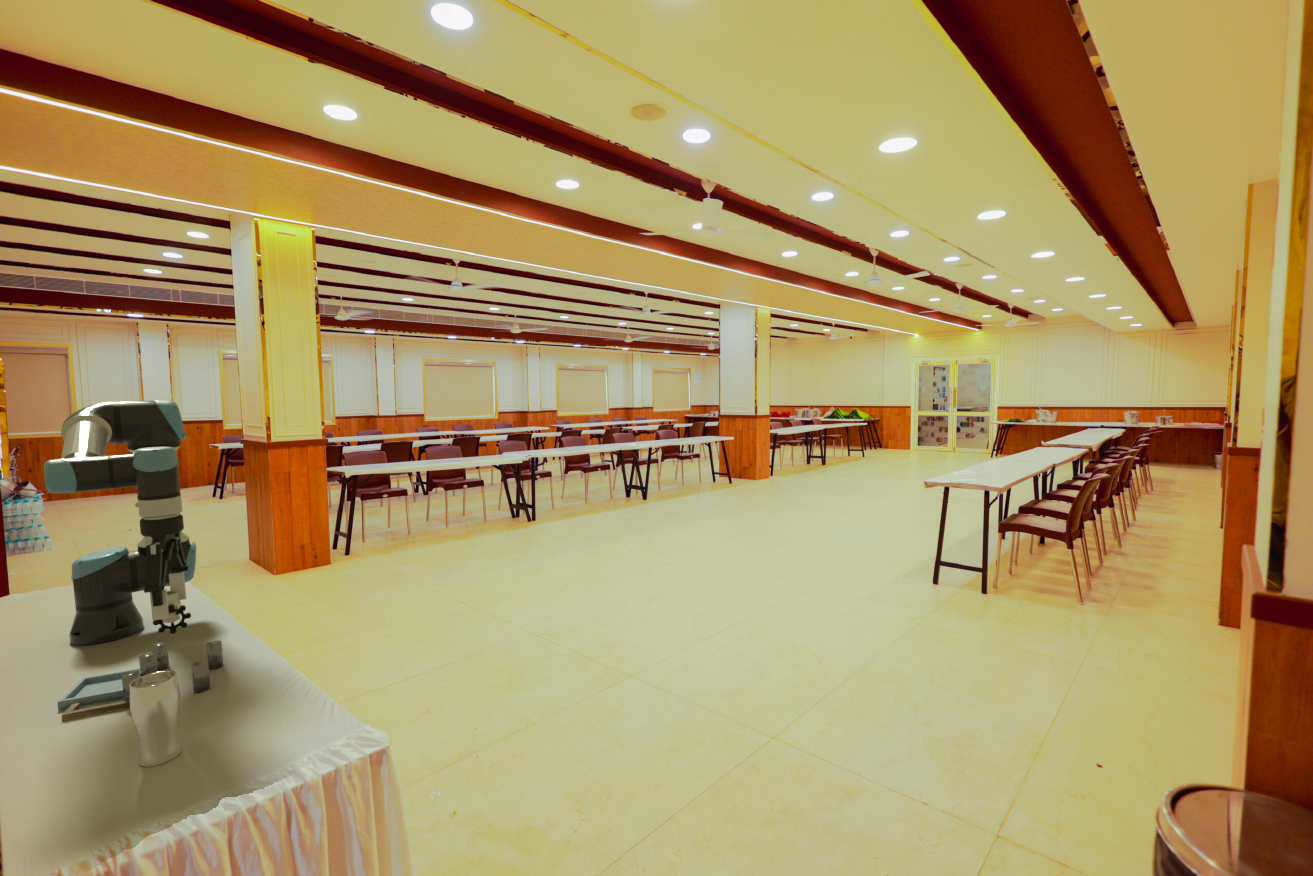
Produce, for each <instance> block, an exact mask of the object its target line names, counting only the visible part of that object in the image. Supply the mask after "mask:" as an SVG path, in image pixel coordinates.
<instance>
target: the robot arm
mask: <svg viewBox="0 0 1313 876" xmlns="http://www.w3.org/2000/svg"><path fill="white" fill-rule="evenodd" d="M181 415H182V414H181V412H180V408H179V405H178V404H177V402H175V401H173V400H163V399H161V400H157V399H153V400H152V399H150V400H129V401H124V400H123V401H104V402H103V401H102V402H98V403H93V404H89V405H87V406H85V407H82V408H80V409H78V410H77V411H75V412H73V413H72V414H70V415H69V416H68V417H67V418H66V419H65V420H64V422H63V423H62V425H61V430H60V435H61V439H62V440H63V441H64V442H63V446H62V452H61V456H60V458H58V459H57V458H55V459H49V460H46V461H45V462H44V464H43V476H44V483H45V488H46V491H47V492H49V493H50V494H67V493H68V494H74V493H81V492H83V493H84V492H91V491H101V490H111V489H119V488H120V489H122V488H131V487H136V494H137V497H136V498H137V502H136V503H135V504H134V507H136V508H138V516H139V517H140V518H141V519H140V520H139V530H140V535H141V536H142V537H143V538H141V540H139V542H138V543H137V549H136V550H131V551H129V549H128V547H126V546H115V547H110V548H109V547H108V548H106V549H101V550H97V551H94V552H90V553H88V554H84V555H82V556H80V557H78V558H76V559H75V560H73V562H72V563H71V577H70V578H71V580H72V585H73V595H74V603H75V605H74V606H75V616H74V619H73V622H72V624H71V628H70V631H69V642H70V644H72V645H74V646H75V645H76V646H89V645H96V644H102V643H103V644H104V643H107V642H112V641H116V640H119V639H122V638H125V637H128V636H130V635H133V634H135V633H137V632H139V631H140V630H142V629H143V628H144V618H143V617H142V614H141V613H140V611H139V610H138V608H137V606H136V604H135V603H134V600H133V593H137V592H142V591H143V592H144V594H146V593H149V597H150V598H149V599H150V609H151V618H152V619H151V620H152V621H153V620H161V619H168V618H169V610H168V599H167V591H168V590H167V588H165V587H169V591H173V590H176V591H178V598H179V600H180V601H184V600H187V590H186V583H189V582H190V581H191V580H192V579H193V578H194V577H195V572H196V563H197V545H196V542H195V541H190V536H188V535H187V534H185V533H183V530H184V528H185V526H184V516H183V514H181V513H182V512H183V503H182V494H181V487H180V486H181V485H180V474H179V457H178V456H177V454H178V453H177V451H178V450H179V449H180V448H181V447H182V446H181V441H182V442H183V441H184V440H185V441H186V440H187V434H186V430H185V426H184V422H183V420H182V419H183V418H182V416H181ZM119 444H120V445H121V444H126V448H127V451H129V452H130V454H127V453H126V454H118V455H117V454H116V455H107V445H119Z"/></svg>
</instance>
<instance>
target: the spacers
mask: <svg viewBox="0 0 1313 876" xmlns="http://www.w3.org/2000/svg"><path fill="white" fill-rule="evenodd" d="M205 647H206V658H207V659H206V660H199V661H196V662H194V663H192V664H191V677H192V686H193V687H192V689H193V693H195V694H196V693H197V694H198V693H204V692H206V691H208V690H210V689H211V679H210V678H211V677H210V670H211V671H212V670H217V669H220V668H222V667H223V666H224V656H223V654H224V653H223V643H222V640H220V639H218V640H212V641H209V642H207V643H205ZM168 648H169V647H168V642H167V641H161V642H157V643H154V644H152V645H151V646H150V650H151V652H147V653H143V654H141V655H140V656H138V660H139V668H140V671H141V676H144V675H147V674H150V673H154V672H159V671H166V670H167V669H169V668H170V661H169V660H170V658H169V650H168ZM140 671H131V672H128V673H125V674H123V675H122V685H123V694H124V698H123V701H127V700H130V698H129V695H130V687H129V685H130V683H131V682H132V681H134V680H135V679H137V678H139V677H140Z"/></svg>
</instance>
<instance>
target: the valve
mask: <svg viewBox="0 0 1313 876" xmlns="http://www.w3.org/2000/svg"><path fill="white" fill-rule="evenodd" d="M167 599H168V610H169V618H168V619H161V620H153V619H152V624H153V626H158V625H160V627H158V633H161V634H162V633H164V632H165V630H169V633H170V634H171V635H174V634H176V633H177V632H178V631H177V629H178V627H181V628H182V629H185V628H186V627H188V622H187V621H185V620H186V619H187V620H188V619H190V618H191V617H192V614H191V612H187V613H185V612H184V611H186V609H187V607H186V605H184V604H182V602H181V600H179V598H178V591H176V590H173V591H170V590H167ZM179 620H180V621H179ZM177 621H178V623H177V624H175V623H176V622H177ZM168 623H169V624H170V625H166V624H168Z"/></svg>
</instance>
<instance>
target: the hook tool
mask: <svg viewBox="0 0 1313 876" xmlns="http://www.w3.org/2000/svg"><path fill="white" fill-rule="evenodd" d="M125 709H130V700H127V701H124V700H123V701H118V702H113V703H107V704H106V703H105V704H102V705H101V704H100V705H95V706H90V707H85V708H81V706H80V703H76V704H72V705H71V706H70V707H69V708H66V710H65V711H63V713H62V714H61V721H66V720H67V721H68V720H72V719H78V718H83V717H88V716H93V715H97V714H98V715H99V714H103V713H109V712H115V711H120V710H125Z"/></svg>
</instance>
